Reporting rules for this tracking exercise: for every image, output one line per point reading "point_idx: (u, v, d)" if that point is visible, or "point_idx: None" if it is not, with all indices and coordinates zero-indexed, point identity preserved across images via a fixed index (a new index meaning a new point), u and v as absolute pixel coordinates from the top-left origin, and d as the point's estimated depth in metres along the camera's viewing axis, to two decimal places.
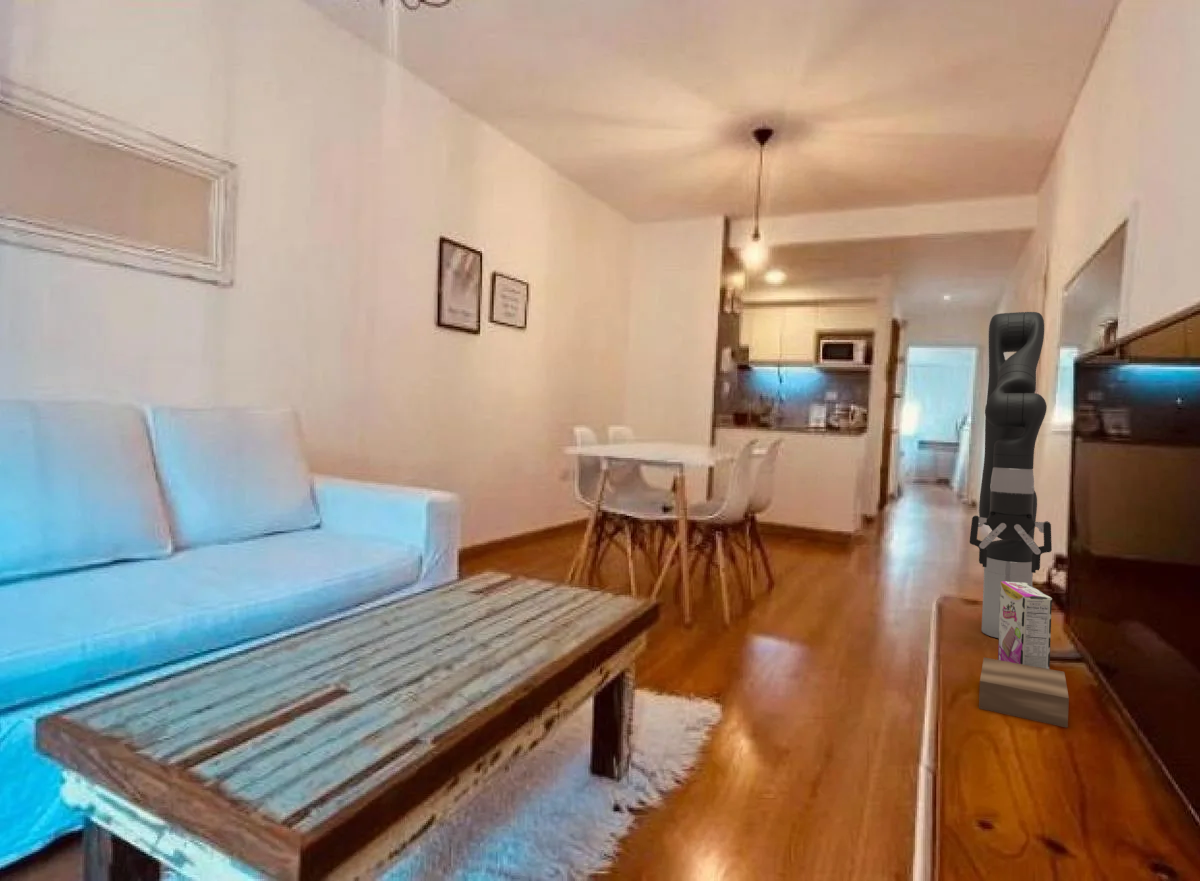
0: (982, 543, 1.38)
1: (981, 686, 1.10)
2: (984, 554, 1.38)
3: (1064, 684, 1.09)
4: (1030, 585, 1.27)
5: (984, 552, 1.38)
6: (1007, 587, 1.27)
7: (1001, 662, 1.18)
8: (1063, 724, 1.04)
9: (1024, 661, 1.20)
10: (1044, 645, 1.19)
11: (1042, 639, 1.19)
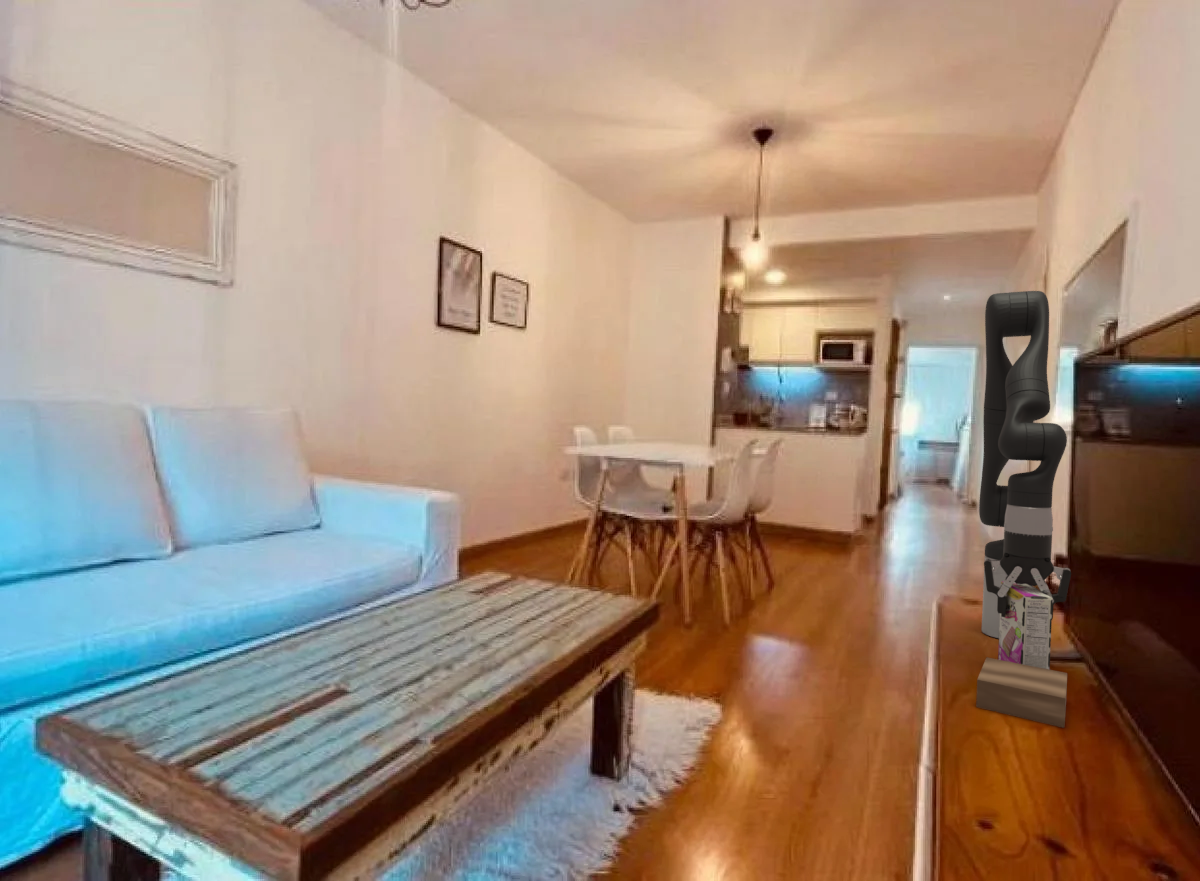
0: (1001, 591, 1.25)
1: (978, 685, 1.10)
2: (1003, 603, 1.25)
3: (1064, 685, 1.09)
4: None
5: (1003, 601, 1.25)
6: None
7: (1003, 662, 1.18)
8: (1060, 724, 1.04)
9: (1024, 661, 1.20)
10: (1044, 645, 1.19)
11: (1042, 638, 1.19)
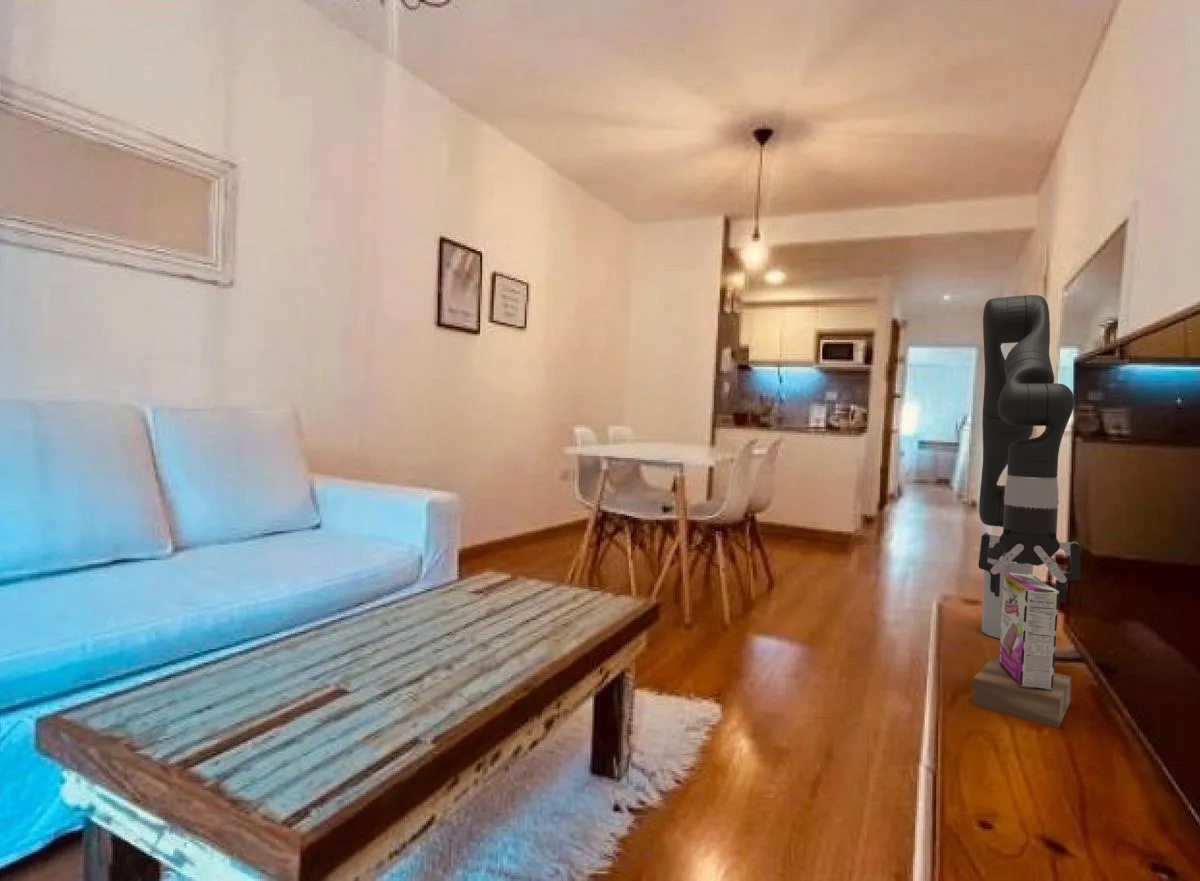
0: (994, 568, 1.13)
1: (974, 683, 1.11)
2: (996, 581, 1.13)
3: (1063, 687, 1.08)
4: None
5: (996, 579, 1.13)
6: (1010, 579, 1.14)
7: None
8: (1054, 725, 1.04)
9: (1025, 661, 1.07)
10: (1048, 643, 1.06)
11: (1046, 636, 1.06)
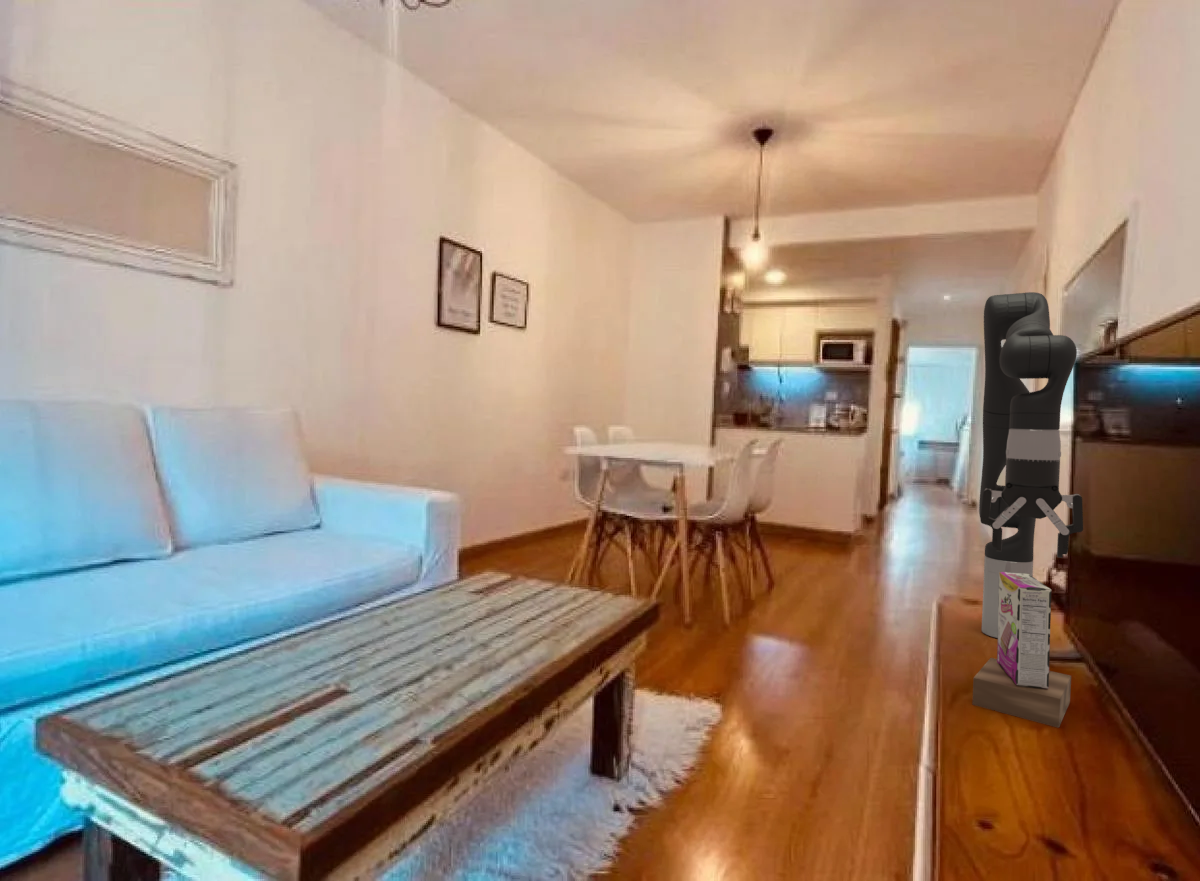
0: (996, 522, 1.13)
1: (975, 683, 1.11)
2: (998, 535, 1.12)
3: (1063, 686, 1.08)
4: None
5: (998, 533, 1.12)
6: (1005, 578, 1.14)
7: None
8: (1054, 725, 1.04)
9: (1019, 660, 1.08)
10: (1042, 642, 1.06)
11: (1040, 635, 1.07)
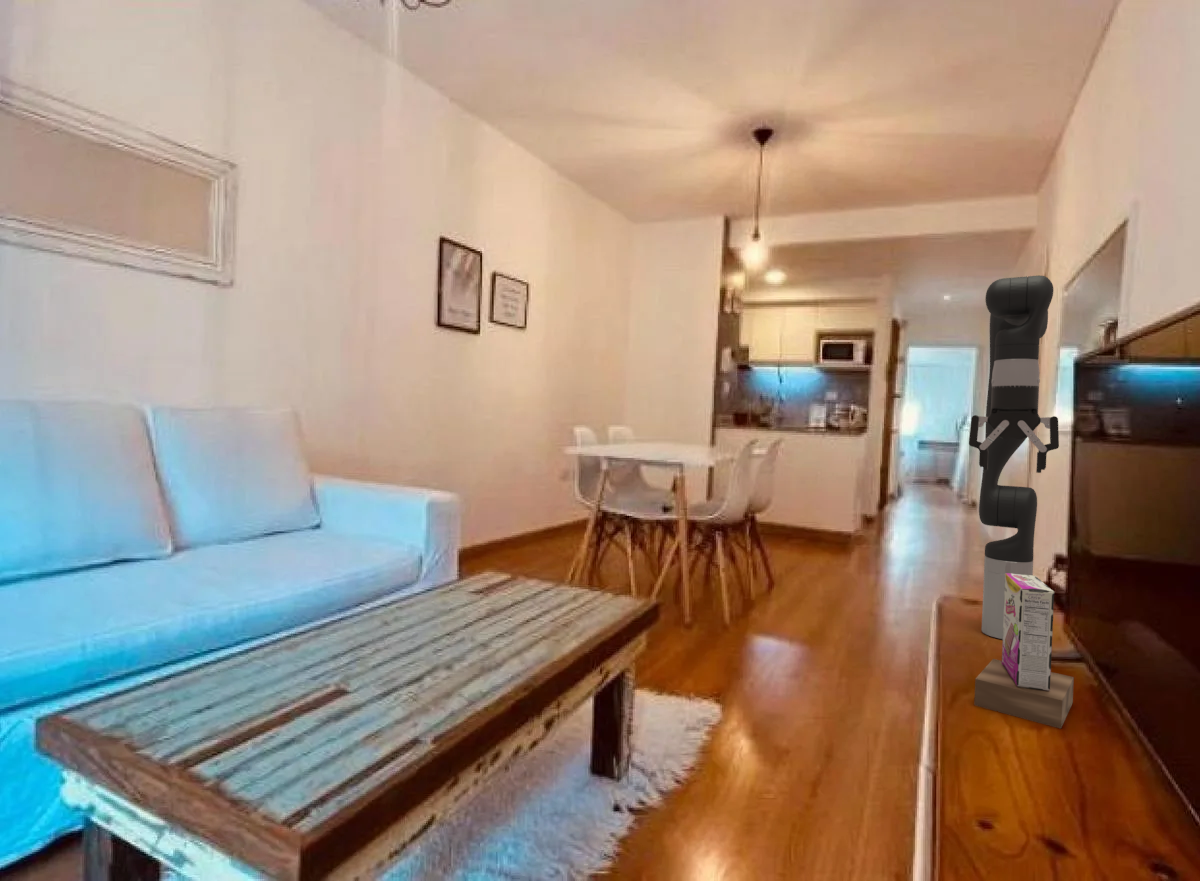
0: (983, 444, 1.27)
1: (976, 684, 1.11)
2: (985, 456, 1.26)
3: (1066, 688, 1.08)
4: (1038, 578, 1.14)
5: (985, 454, 1.26)
6: (1009, 579, 1.14)
7: None
8: (1056, 726, 1.03)
9: (1021, 661, 1.07)
10: (1044, 644, 1.06)
11: (1042, 637, 1.06)
